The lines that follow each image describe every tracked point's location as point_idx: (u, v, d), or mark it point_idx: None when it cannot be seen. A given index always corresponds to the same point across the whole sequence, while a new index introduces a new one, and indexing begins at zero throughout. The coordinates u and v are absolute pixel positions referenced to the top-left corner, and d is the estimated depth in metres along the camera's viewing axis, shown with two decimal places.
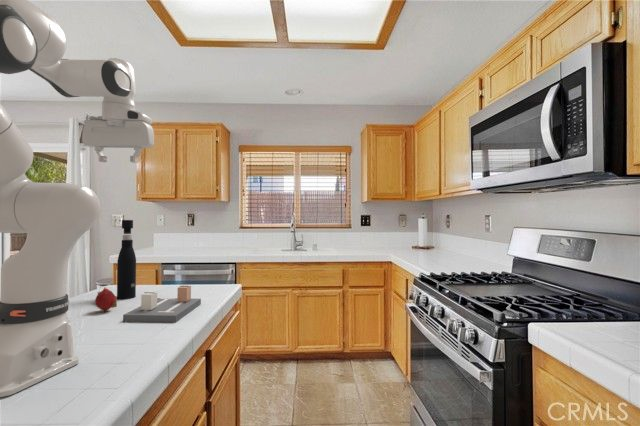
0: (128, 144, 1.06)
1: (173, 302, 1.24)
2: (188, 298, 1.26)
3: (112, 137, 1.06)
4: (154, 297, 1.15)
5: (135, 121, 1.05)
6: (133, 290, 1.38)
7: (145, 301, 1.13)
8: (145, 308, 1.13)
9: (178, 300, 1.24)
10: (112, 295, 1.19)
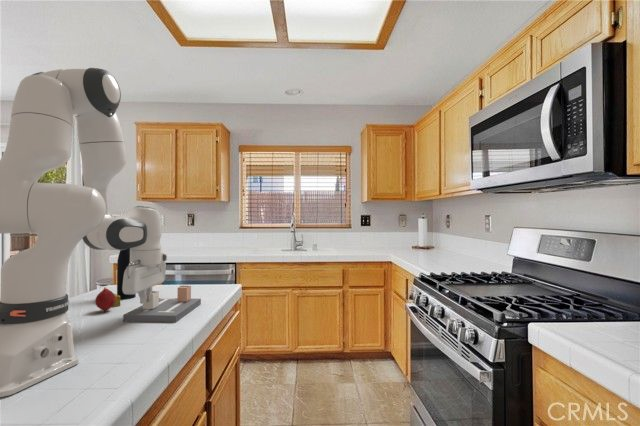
0: (156, 284, 1.16)
1: (173, 302, 1.24)
2: (188, 298, 1.26)
3: (149, 280, 1.11)
4: (155, 297, 1.16)
5: (162, 262, 1.19)
6: None
7: None
8: (147, 307, 1.14)
9: (178, 300, 1.24)
10: (112, 295, 1.19)
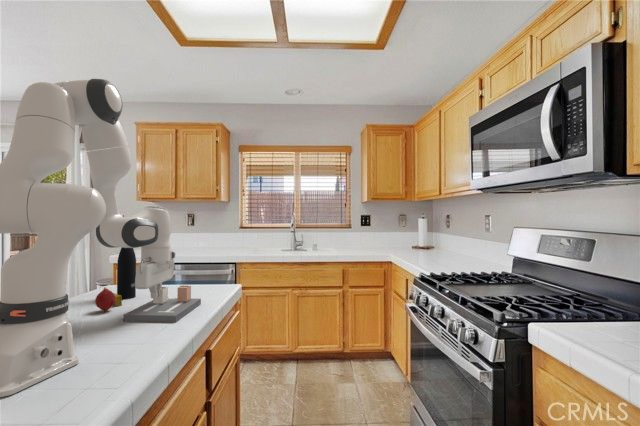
0: (165, 280, 1.23)
1: (173, 302, 1.24)
2: (188, 298, 1.26)
3: (159, 276, 1.18)
4: (165, 292, 1.23)
5: (171, 259, 1.25)
6: (133, 290, 1.38)
7: None
8: (157, 302, 1.21)
9: (178, 300, 1.24)
10: (112, 295, 1.19)
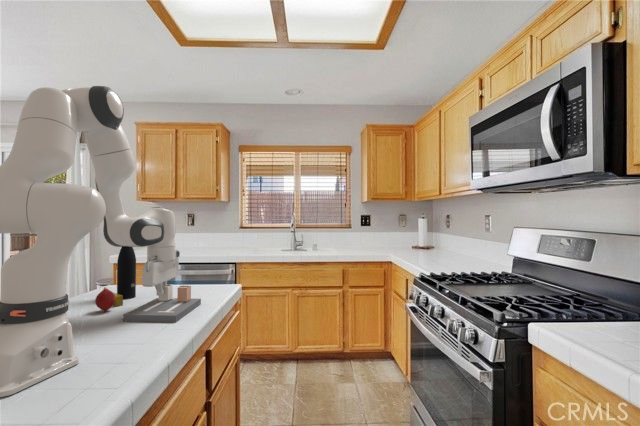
0: (170, 278, 1.27)
1: (173, 302, 1.24)
2: (188, 298, 1.26)
3: (165, 274, 1.22)
4: (170, 289, 1.27)
5: (176, 258, 1.30)
6: (133, 290, 1.38)
7: None
8: (162, 299, 1.25)
9: (178, 300, 1.24)
10: (112, 295, 1.19)
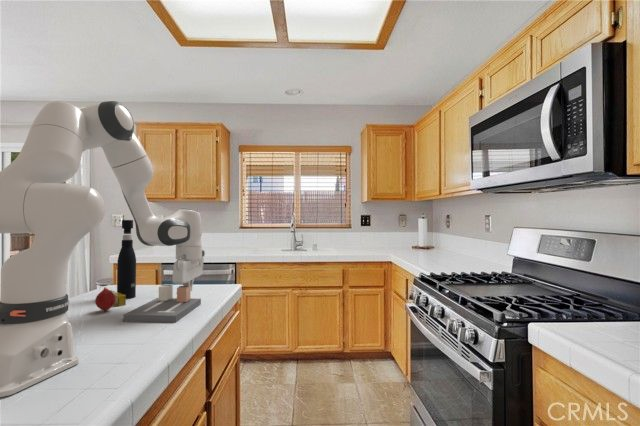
0: (197, 276, 1.33)
1: (173, 302, 1.24)
2: (187, 298, 1.25)
3: (192, 272, 1.29)
4: (170, 289, 1.27)
5: (201, 257, 1.36)
6: (133, 290, 1.38)
7: (162, 292, 1.25)
8: (162, 299, 1.25)
9: (177, 300, 1.23)
10: (112, 295, 1.19)
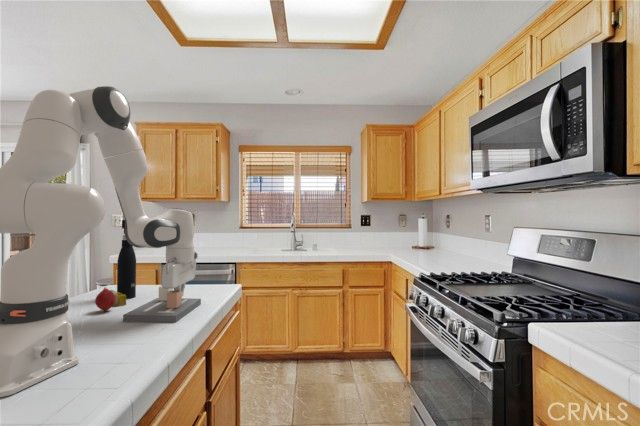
0: (188, 280, 1.25)
1: None
2: (178, 304, 1.17)
3: (184, 276, 1.21)
4: (170, 289, 1.27)
5: (194, 260, 1.28)
6: (133, 290, 1.38)
7: (162, 292, 1.25)
8: (162, 299, 1.25)
9: (167, 306, 1.15)
10: (112, 295, 1.19)
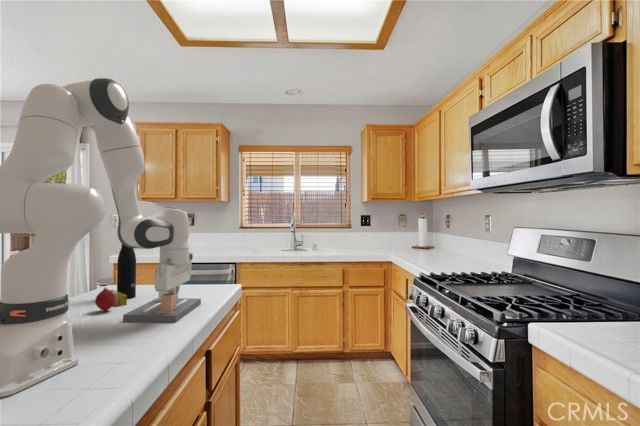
0: (183, 282, 1.21)
1: None
2: (173, 307, 1.13)
3: (178, 278, 1.16)
4: None
5: (189, 261, 1.23)
6: (133, 290, 1.38)
7: (162, 292, 1.25)
8: None
9: (161, 310, 1.11)
10: (112, 295, 1.19)
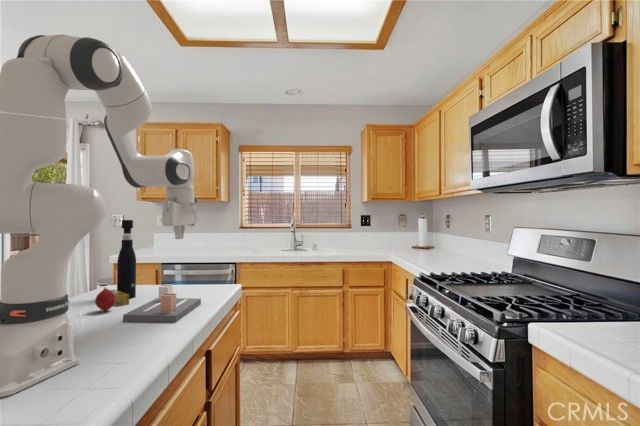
0: (189, 223, 1.25)
1: None
2: (173, 307, 1.13)
3: (184, 218, 1.20)
4: (170, 289, 1.27)
5: (194, 205, 1.27)
6: (133, 290, 1.38)
7: (162, 292, 1.25)
8: None
9: (161, 310, 1.11)
10: (112, 295, 1.19)
